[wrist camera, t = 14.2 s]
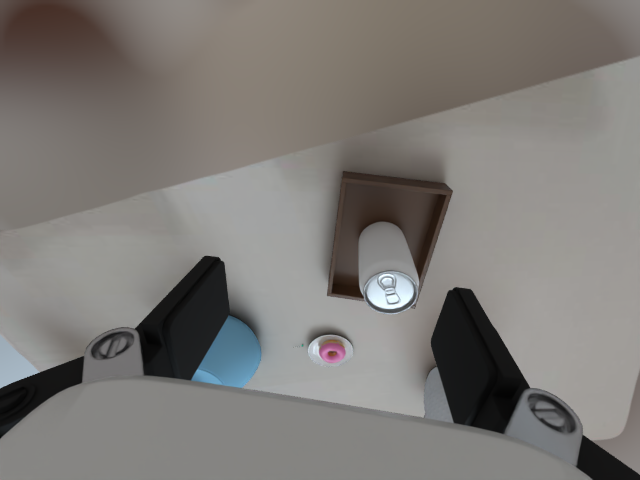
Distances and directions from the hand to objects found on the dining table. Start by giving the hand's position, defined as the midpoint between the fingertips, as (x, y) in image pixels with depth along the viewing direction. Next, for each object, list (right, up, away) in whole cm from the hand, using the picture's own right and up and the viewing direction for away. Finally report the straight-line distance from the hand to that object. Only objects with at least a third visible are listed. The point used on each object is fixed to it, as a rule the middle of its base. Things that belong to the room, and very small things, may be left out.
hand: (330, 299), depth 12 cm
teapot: (-21, -16, +42) cm, 49 cm away
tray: (+8, +3, +29) cm, 30 cm away
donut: (0, -18, +40) cm, 44 cm away
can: (+8, +2, +28) cm, 29 cm away
